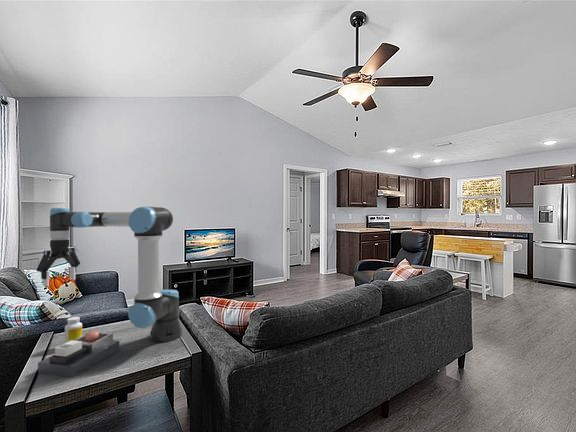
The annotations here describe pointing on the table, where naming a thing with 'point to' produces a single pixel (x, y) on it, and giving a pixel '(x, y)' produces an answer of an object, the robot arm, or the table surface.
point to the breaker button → (91, 336)
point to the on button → (68, 348)
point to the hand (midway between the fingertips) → (59, 282)
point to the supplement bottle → (73, 329)
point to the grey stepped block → (80, 357)
